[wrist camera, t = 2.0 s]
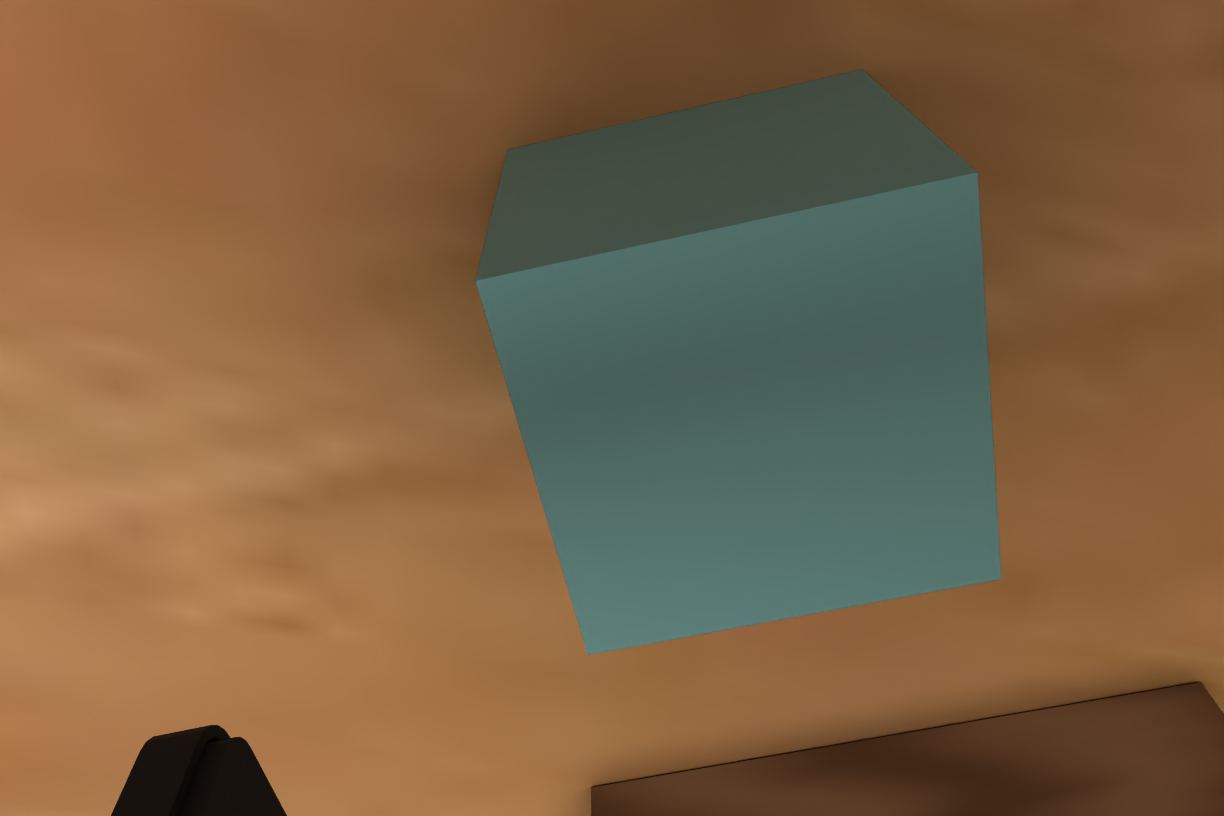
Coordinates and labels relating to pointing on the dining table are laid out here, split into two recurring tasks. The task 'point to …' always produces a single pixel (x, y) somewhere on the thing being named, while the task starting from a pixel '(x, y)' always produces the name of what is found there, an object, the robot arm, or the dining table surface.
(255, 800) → the robot arm
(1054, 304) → the dining table surface
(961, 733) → the walnut block
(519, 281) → the teal cube
